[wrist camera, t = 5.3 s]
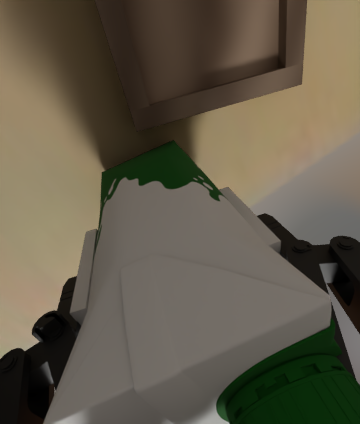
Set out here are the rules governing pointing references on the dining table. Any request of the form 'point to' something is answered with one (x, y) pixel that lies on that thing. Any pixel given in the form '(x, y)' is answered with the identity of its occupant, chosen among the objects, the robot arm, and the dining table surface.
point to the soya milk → (196, 314)
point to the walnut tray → (202, 53)
